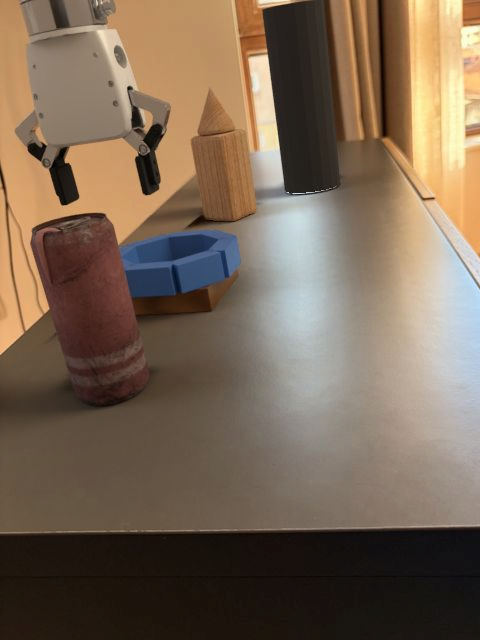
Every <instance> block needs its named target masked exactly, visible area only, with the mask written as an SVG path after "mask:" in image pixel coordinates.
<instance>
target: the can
mask: <svg viewBox="0 0 480 640" xmlns="http://www.w3.org/2000/svg"><path fill="white" fill-rule="evenodd" d="M30 230H31V237H30V241H29V245H30V248H31V252H32V255H33V258H34V262H35V265H36V269H37V271H38V275H39V279H40V282H41V285H42V289H43V292H44V295H45V299H46V302H47V305H48V308H49V312H50V315H51V319H52V322H53V325H54V328H55V332H56V335H57V339H58V343H59V345H60V349H61V352H62V355H63V359H64V363H65V366H66V368H67V372H68V375H69V379H70V382H71V386H72V389H73V392H74V395H75V396H76V397H77V398H78V399H79V400H80V401H81V402H83V403H84V404H86V405H89V406H94V407H96V406H97V407H102V406H112V405H117V404H121V403H123V402H126V401H128V400H130V399H133V398H134V397H136V396H138V395H140V394H141V393H142V392H143V391H144V390H145V389H146V388H147V385H148V383H149V380H150V377H151V374H150V370H149V367H148V366H149V365H148V361H147V358H146V353H145V350H144V345H143V341H142V337H141V333H140V329H139V324H138V321H137V317H136V316H137V315H135V312H134V307H133V303H132V299H131V295H130V291H129V287H128V283H127V279H126V274H125V270H124V266H123V262H122V258H121V254H120V250H119V248H120V246H119V242H118V241H119V240H118V238H117V234H116V229H115V226H114V223H113V222H112V221H111V220H110V219H109V217H107V214H106V213H104V212H86V213H77V214H71V215H67V216H61V217H58V218H53V219H50V220H47V221H43V222H42V223H39V224H37V225H35V226H34V227H32V228H31V229H30Z"/></svg>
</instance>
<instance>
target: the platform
mask: <svg viewBox="0 0 480 640" xmlns="http://www.w3.org/2000/svg"><path fill="white" fill-rule="evenodd" d="M238 277H239V271H238V268H237V269H236V270H235V271H234V272H233V274H232V275H231V276H230V277H229V278H225V280H223V281H220V282H217V283H214V284H211V285H208V286H205V287H202V288H199V289H195V290H192V291H189V292H186V293H183V294H182V293H180V292H177V293H176V295H169V296H153V297H136V298H131V299H132V303H133V307H134V312H135V316H143V315H147V316H148V315H162V314H181V313H183V314H184V313H201V312H212V311H213V310H214V309H215V307H216V306H217V305H218V304H219V302H220V301H221V299H222V298H223V297H224V296H225V294H226V293H227V292H228V291H229V289H230V288H231V286H232V285H233V284H234V283H235V281H236V280H237V278H238Z"/></svg>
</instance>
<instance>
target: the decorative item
mask: <svg viewBox="0 0 480 640" xmlns="http://www.w3.org/2000/svg"><path fill="white" fill-rule="evenodd" d="M196 131H197V132H196V133H197V135H194V136H193V137H191V138H190V147H191V152H192V157H193V164H194V169H195V176H196V180H197V186H198V191H199V196H200V202H201V208H202V213H203V218H204V219H205V221H209V220H213V221H212V222H236V221H238V220H240V219H242V218H245V217H247V216H249V214H250V215H252V214H254V213H256V212H257V210H258V206H257V205H258V204H257V199H256V192H255V185H254V177H253V171H252V165H251V157H250V150H249V144H248V136H247V131H246V130H245V129H242V128H237V126H236V123H234V121H233V120H232V118H231V117H230V114H229V113H228V112H227V110H226V109H225V108H224V106H223V104H222V103H221V102H220V100H219V98H218V97H217V96H216V94H215V93H214V90H212V88H211V87H210V86H209V88H208V91H207V95H206V98H205V102H204V105H203V110H202V113H201V116H200V120H199V124H198V128H197V130H196Z"/></svg>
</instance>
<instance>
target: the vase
mask: <svg viewBox="0 0 480 640" xmlns="http://www.w3.org/2000/svg"><path fill="white" fill-rule="evenodd" d="M325 10H326V9H325V1H324V0H301V1H295V2H289V3H284V4H279V5H273V6H270V7H265V8H263V9H262V10H261V12H262V20H263V22H262V23H263V28H264V37H265V44H266V52H267V61H268V69H269V75H270V77H269V78H270V84H271V92H272V99H273V107H274V114H275V115H274V116H275V123H276V131H277V139H278V147H279V148H278V149H279V154H280V162H281V163H280V164H281V171H282V179H283V185H284V192H285V191H286V192H289V193H306V192H315V191H321V190H326V189H329V188H333V187H335V186H338V185H339V184H340V185H341V175H340V165H339V164H340V163H339V154H338V142H337V130H336V119H335V111H334V98H333V88H332V87H333V86H332V77H331V66H330V65H331V64H330V55H329V42H328V32H327V31H328V30H327V21H326V11H325ZM340 185H339V186H340ZM339 186H338V187H339ZM286 192H285V193H286Z"/></svg>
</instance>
